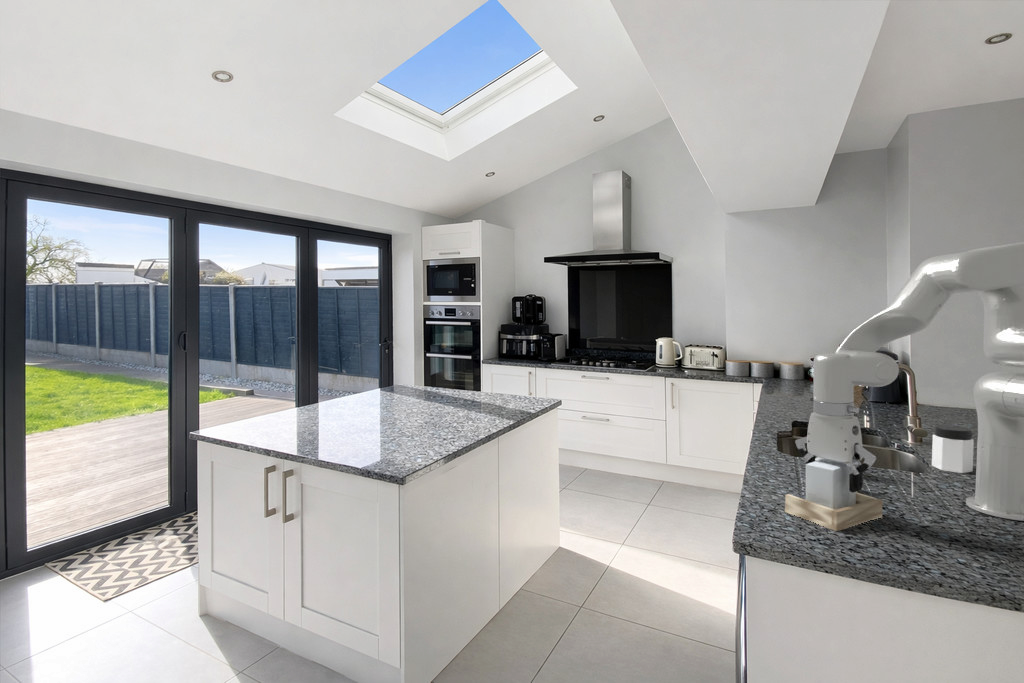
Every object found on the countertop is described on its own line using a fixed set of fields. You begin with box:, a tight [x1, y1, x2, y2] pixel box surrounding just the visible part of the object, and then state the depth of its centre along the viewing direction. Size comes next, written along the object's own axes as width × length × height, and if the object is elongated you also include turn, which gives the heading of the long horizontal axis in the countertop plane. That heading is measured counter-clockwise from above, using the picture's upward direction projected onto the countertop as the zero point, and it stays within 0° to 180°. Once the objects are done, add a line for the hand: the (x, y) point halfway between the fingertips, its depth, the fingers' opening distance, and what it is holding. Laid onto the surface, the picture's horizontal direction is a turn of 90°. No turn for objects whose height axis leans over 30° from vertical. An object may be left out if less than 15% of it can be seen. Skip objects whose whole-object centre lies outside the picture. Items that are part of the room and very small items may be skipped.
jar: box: [931, 424, 975, 474], centre depth 146 cm, size 9×8×12 cm
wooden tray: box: [784, 491, 884, 532], centre depth 112 cm, size 12×16×4 cm
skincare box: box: [805, 458, 856, 510], centre depth 113 cm, size 10×6×10 cm, turn 124°
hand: (832, 484), depth 113 cm, fingers open, 9 cm apart
